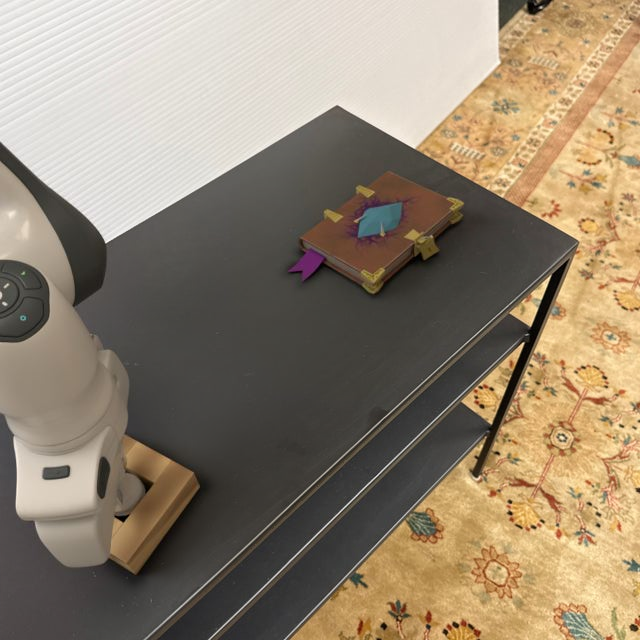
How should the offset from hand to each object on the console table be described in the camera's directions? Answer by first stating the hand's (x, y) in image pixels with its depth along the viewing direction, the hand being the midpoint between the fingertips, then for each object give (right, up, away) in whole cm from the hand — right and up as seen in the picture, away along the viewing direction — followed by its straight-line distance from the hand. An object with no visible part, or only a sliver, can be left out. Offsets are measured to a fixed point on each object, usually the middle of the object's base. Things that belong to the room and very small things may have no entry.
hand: (117, 486), depth 67 cm
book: (+29, +28, +28) cm, 49 cm away
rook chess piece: (0, -2, +2) cm, 3 cm away
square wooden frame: (0, -3, +4) cm, 5 cm away
